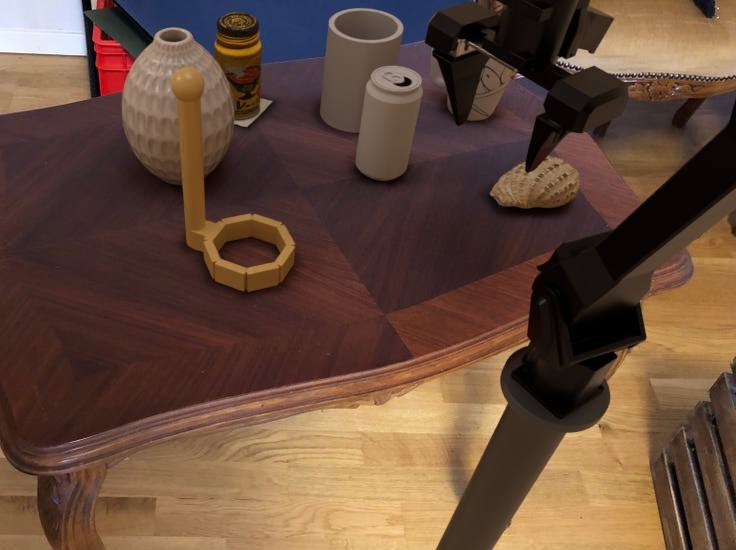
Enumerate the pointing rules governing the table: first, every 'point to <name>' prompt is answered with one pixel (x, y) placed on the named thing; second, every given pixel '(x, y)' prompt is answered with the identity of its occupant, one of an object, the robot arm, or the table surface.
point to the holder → (214, 235)
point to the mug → (479, 87)
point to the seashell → (538, 185)
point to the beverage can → (388, 122)
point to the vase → (174, 105)
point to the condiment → (241, 63)
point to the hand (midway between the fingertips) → (494, 146)
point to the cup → (355, 62)
